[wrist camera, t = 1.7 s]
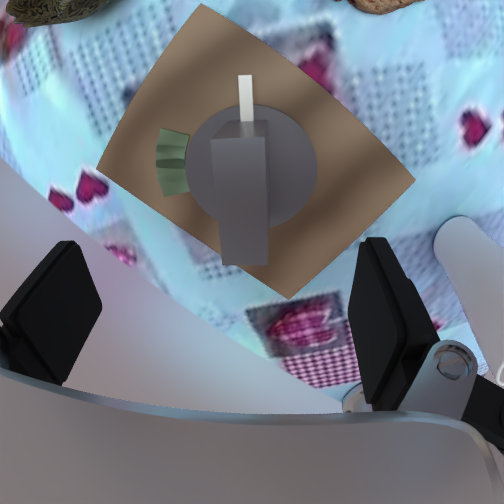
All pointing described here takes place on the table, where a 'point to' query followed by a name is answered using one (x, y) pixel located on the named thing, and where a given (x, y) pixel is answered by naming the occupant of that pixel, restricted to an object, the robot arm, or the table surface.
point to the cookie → (380, 5)
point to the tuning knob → (250, 174)
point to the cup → (52, 11)
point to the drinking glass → (476, 284)
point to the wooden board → (264, 93)
